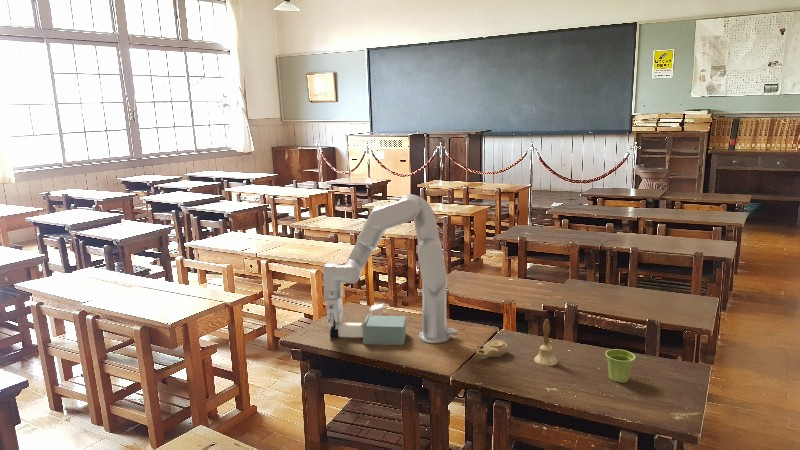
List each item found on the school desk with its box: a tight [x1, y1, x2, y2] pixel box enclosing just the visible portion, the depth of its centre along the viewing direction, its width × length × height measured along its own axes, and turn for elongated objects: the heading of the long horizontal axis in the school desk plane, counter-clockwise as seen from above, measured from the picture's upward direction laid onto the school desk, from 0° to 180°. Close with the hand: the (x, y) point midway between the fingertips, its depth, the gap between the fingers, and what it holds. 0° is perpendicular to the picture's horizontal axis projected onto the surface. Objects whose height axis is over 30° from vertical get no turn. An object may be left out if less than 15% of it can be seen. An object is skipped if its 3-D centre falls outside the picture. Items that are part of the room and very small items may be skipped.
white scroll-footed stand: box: [368, 303, 388, 316], centre depth 249 cm, size 12×8×5 cm
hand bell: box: [533, 318, 558, 367], centre depth 200 cm, size 8×8×16 cm
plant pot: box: [604, 348, 636, 384], centre depth 186 cm, size 9×9×9 cm
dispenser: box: [362, 313, 407, 346], centre depth 224 cm, size 16×12×8 cm
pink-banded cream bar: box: [328, 321, 363, 338], centre depth 225 cm, size 13×3×5 cm, turn 85°
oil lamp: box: [475, 339, 509, 359], centre depth 206 cm, size 11×14×5 cm
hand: (335, 336), depth 226 cm, fingers closed on pink-banded cream bar, 3 cm apart
